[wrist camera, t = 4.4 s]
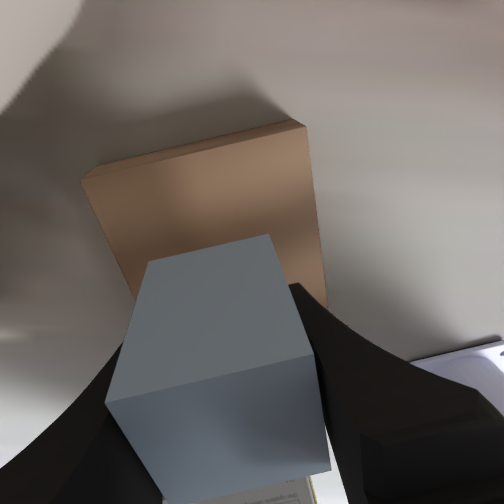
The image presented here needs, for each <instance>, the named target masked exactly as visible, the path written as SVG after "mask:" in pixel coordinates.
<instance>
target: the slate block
mask: <svg viewBox="0 0 504 504" xmlns="http://www.w3.org/2000/svg"><path fill="white" fill-rule="evenodd" d="M105 405H106V406H107V408H108V409H109V411H110V412H111V414H112V416H113V417H114V419H115V420H116V422H117V423H118V425H119V427H120V428H121V430H122V431H123V433H124V434H125V436H126V438H127V439H128V441H129V442H130V444H131V445H132V447H133V449H134V450H135V452H136V453H137V455H138V456H139V458H140V460H141V461H142V463H143V464H144V466H145V467H146V469H147V471H148V472H149V474H150V475H151V477H152V479H153V480H154V482H155V483H156V485H157V486H158V488H159V490H160V491H161V493H162V494H163V496H164V497H165V499H166V501H167V502H168V504H191V503H196V502H200V501H204V500H208V499H213V498H217V497H221V496H225V495H229V494H234V493H238V492H242V491H246V490H251V489H255V488H259V487H263V486H268V485H272V484H276V483H280V482H284V481H289V480H293V479H297V478H301V477H306V476H310V475H314V474H318V473H323V472H327V471H331V463H330V457H329V450H328V443H327V437H326V430H325V424H324V417H323V411H322V404H321V398H320V391H319V385H318V378H317V372H316V365H315V358H314V353H313V350H312V348H311V345H310V342H309V340H308V337H307V334H306V332H305V329H304V326H303V324H302V321H301V318H300V316H299V313H298V310H297V308H296V305H295V302H294V300H293V297H292V294H291V291H290V289H289V286H288V283H287V281H286V278H285V275H284V273H283V270H282V267H281V265H280V262H279V259H278V257H277V254H276V251H275V249H274V246H273V243H272V241H271V238H270V235H269V234H265V235H261V236H256V237H252V238H248V239H243V240H239V241H235V242H230V243H226V244H222V245H218V246H213V247H209V248H205V249H200V250H196V251H192V252H187V253H183V254H179V255H175V256H170V257H166V258H162V259H157V260H153V261H149V262H148V265H147V268H146V272H145V275H144V278H143V281H142V284H141V288H140V291H139V294H138V297H137V300H136V304H135V307H134V310H133V313H132V316H131V320H130V323H129V326H128V329H127V332H126V336H125V339H124V342H123V345H122V348H121V352H120V355H119V358H118V361H117V364H116V368H115V371H114V374H113V377H112V380H111V384H110V387H109V390H108V393H107V396H106V400H105Z"/></svg>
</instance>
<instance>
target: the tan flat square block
mask: <svg viewBox="0 0 504 504" xmlns="http://www.w3.org/2000/svg"><path fill="white" fill-rule="evenodd" d="M79 181H80V183H81V185H82V187H83V189H84V192H85V194H86V196H87V198H88V200H89V202H90V204H91V206H92V209H93V211H94V213H95V215H96V217H97V219H98V221H99V224H100V226H101V228H102V230H103V232H104V234H105V236H106V238H107V241H108V243H109V245H110V247H111V249H112V251H113V253H114V255H115V258H116V260H117V262H118V264H119V266H120V268H121V270H122V273H123V275H124V277H125V279H126V281H127V283H128V285H129V287H130V290H131V292H132V294H133V296H134V298H135V300H137V297H138V294H139V291H140V288H141V284H142V281H143V278H144V275H145V272H146V268H147V265H148V262H149V261H153V260H157V259H162V258H166V257H170V256H175V255H179V254H183V253H187V252H192V251H196V250H200V249H205V248H209V247H213V246H218V245H222V244H226V243H230V242H235V241H239V240H243V239H248V238H252V237H256V236H261V235H265V234H269V235H270V238H271V241H272V243H273V246H274V249H275V251H276V254H277V257H278V259H279V262H280V265H281V267H282V270H283V273H284V275H285V278H286V281H287V283H288V285H289V284H293V283H297V282H299V283H300V284H302V285H303V287H304V288H305V289H306V290H307V291H308V292H309V293H310V294H311V295H312V296H313V297H314V298H315V299H316V300H317V301H318V302H319V303H320V304H321V305H322V306H323V307H324V308H326V307H328V303H327V294H326V286H325V278H324V270H323V261H322V253H321V245H320V237H319V228H318V220H317V212H316V203H315V195H314V187H313V179H312V170H311V162H310V154H309V146H308V137H307V129H306V126H304V125H303V124H301V123H299V122H298V121H296V120H294V119H291V120H287V121H282V122H278V123H274V124H270V125H266V126H261V127H257V128H253V129H249V130H244V131H240V132H236V133H232V134H228V135H223V136H219V137H215V138H211V139H207V140H202V141H198V142H194V143H190V144H185V145H181V146H177V147H173V148H169V149H164V150H160V151H156V152H152V153H147V154H143V155H139V156H135V157H131V158H126V159H122V160H118V161H114V162H109V163H105V164H101V165H97V166H95V167H94V168H93V169H92V170H91V171H90V172H88V173H87V174H86V175H85V176H84V177H82V178H81V179H80V180H79Z"/></svg>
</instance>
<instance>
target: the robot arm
mask: <svg viewBox="0 0 504 504" xmlns="http://www.w3.org/2000/svg"><path fill="white" fill-rule="evenodd" d="M288 286H289V289H290V291H291V294H292V297H293V300H294V302H295V305H296V308H297V310H298V313H299V316H300V318H301V321H302V324H303V326H304V329H305V332H306V334H307V337H308V340H309V342H310V345H311V348H312V350H313V353H314V358H315V365H316V372H317V378H318V385H319V391H320V398H321V404H322V411H323V417H324V423H325V426H326V430H327V433H328V436H329V439H330V443H331V446H332V449H333V452H334V456H335V459H336V462H337V466H338V469H339V472H340V476H341V479H342V482H343V486H344V489H345V492H346V496H347V499H348V502H349V504H504V341H498V342H494V343H490V344H485V345H481V346H477V347H473V348H468V349H464V350H460V351H455V352H451V353H447V354H443V355H438V356H434V357H430V358H426V359H421V360H417V361H413V362H410V363H408V362H406V361H404V360H402V359H400V358H398V357H396V356H394V355H392V354H391V353H389V352H387V351H385V350H383V349H381V348H380V347H378V346H376V345H375V344H373V343H371V342H370V341H368V340H367V339H365V338H363V337H362V336H360V335H359V334H357V333H356V332H355V331H353V330H352V329H350V328H349V327H348V326H346V325H345V324H344V323H342V322H341V321H340V320H339V319H337V318H336V317H335V316H334V315H333V314H331V313H330V312H329V311H328V310H327V309H326V308H324V307H323V306H322V305H321V304H320V303H319V302H318V301H317V300H316V299H315V298H314V297H313V296H312V295H311V294H310V293H309V292H308V291H307V290H306V289H305V288H304V287H303V285H302V284H300V283H299V282H297V283H293V284H289V285H288ZM123 342H124V341H123ZM123 342H122V344H121V345H120V346H119V348H118V349H117V350H116V352H115V353H114V354H113V356H112V357H111V358H110V360H109V361H108V362H107V363H106V365H105V366H104V367H103V368H102V370H101V371H100V372H99V373H98V374H97V376H96V377H95V378H94V379H93V380H92V382H91V383H90V384H89V385H88V387H87V388H86V389H85V390H84V391H83V392H82V393H81V394H80V396H79V397H78V398H77V399H76V400H75V401H74V402H73V403H72V404H71V405H70V406H69V407H68V408H67V409H66V410H65V411H64V412H63V413H62V414H61V415H60V416H59V417H58V418H57V419H56V420H55V421H54V422H53V423H52V424H51V425H50V426H49V427H48V428H47V429H46V430H44V431H43V432H42V433H41V434H40V435H39V436H38V437H37V438H36V439H35V440H34V441H33V442H31V443H30V444H29V445H28V446H27V447H26V448H25V449H24V450H22V451H21V452H20V453H19V454H18V455H16V456H15V457H14V458H13V459H12V460H10V461H9V462H8V463H7V464H6V465H4V466H3V467H2V468H1V469H0V504H163V494H162V493H161V491H160V490H159V488H158V486H157V485H156V483H155V482H154V480H153V479H152V477H151V475H150V474H149V472H148V471H147V469H146V467H145V466H144V464H143V463H142V461H141V460H140V458H139V456H138V455H137V453H136V452H135V450H134V449H133V447H132V445H131V444H130V442H129V441H128V439H127V438H126V436H125V434H124V433H123V431H122V430H121V428H120V427H119V425H118V423H117V422H116V420H115V419H114V417H113V416H112V414H111V412H110V411H109V409H108V408H107V406H106V405H105V400H106V396H107V393H108V390H109V387H110V384H111V380H112V377H113V374H114V371H115V368H116V364H117V361H118V358H119V355H120V352H121V348H122V345H123Z"/></svg>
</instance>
